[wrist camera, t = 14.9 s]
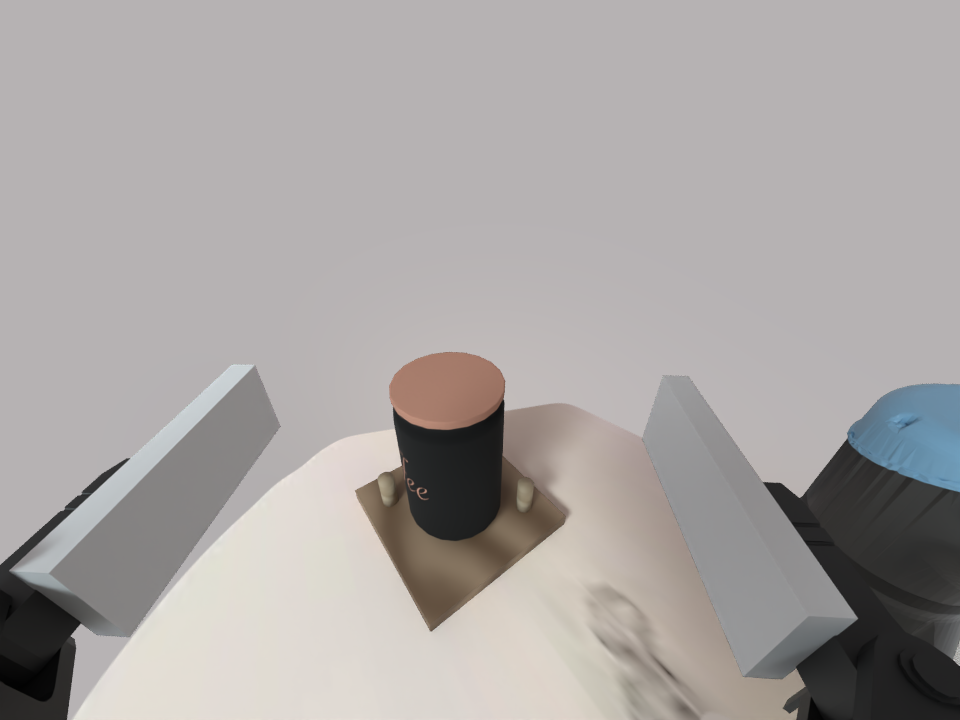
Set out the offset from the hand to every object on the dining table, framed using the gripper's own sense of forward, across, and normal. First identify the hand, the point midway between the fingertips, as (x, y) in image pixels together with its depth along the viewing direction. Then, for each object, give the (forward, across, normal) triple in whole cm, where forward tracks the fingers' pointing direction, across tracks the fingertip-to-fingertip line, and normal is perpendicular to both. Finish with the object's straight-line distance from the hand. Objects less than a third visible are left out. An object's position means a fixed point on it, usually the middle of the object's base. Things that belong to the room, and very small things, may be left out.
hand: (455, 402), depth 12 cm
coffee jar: (+18, -3, -31) cm, 35 cm away
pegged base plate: (+18, -3, -32) cm, 37 cm away
